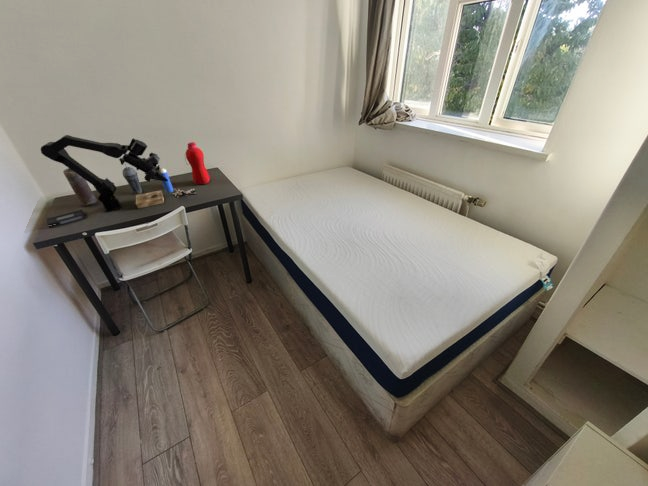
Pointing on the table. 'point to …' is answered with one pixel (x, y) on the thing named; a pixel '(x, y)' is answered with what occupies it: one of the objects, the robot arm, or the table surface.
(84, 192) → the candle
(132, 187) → the beverage cup
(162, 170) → the white topped blue rod
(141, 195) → the holder
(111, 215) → the table surface
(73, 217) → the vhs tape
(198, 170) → the water bottle
